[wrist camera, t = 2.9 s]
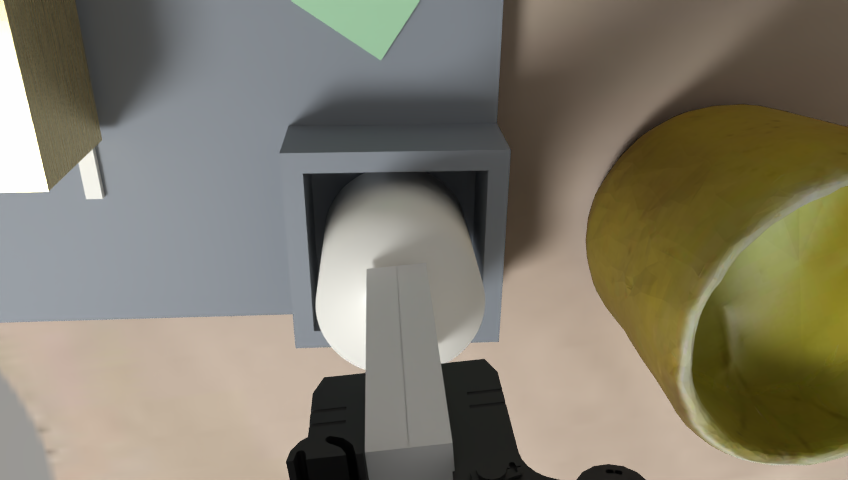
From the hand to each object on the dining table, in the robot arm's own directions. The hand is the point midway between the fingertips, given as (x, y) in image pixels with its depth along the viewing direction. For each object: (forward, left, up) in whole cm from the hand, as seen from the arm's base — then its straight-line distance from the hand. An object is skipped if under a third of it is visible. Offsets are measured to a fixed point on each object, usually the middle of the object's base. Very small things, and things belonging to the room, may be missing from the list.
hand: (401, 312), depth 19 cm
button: (0, 0, -5) cm, 5 cm away
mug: (0, +13, -7) cm, 15 cm away
